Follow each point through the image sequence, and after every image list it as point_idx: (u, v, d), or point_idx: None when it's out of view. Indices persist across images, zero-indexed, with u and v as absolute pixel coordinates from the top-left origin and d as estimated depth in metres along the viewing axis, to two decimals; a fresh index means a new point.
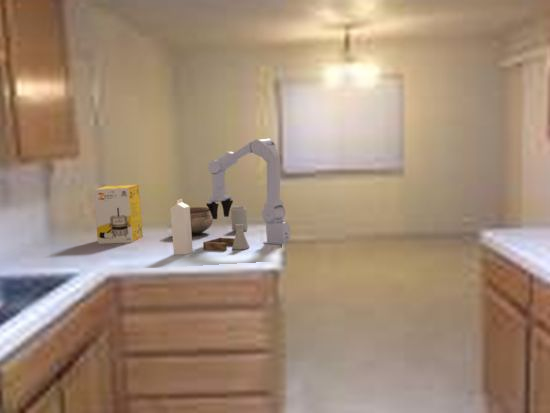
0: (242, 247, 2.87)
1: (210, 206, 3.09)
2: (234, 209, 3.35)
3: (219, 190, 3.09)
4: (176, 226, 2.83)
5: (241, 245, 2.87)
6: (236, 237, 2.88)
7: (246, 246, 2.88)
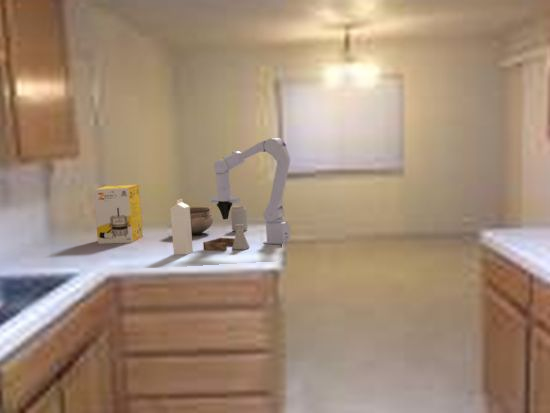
0: (242, 247, 2.87)
1: None
2: (234, 209, 3.35)
3: (217, 191, 3.03)
4: (176, 226, 2.83)
5: (241, 245, 2.87)
6: (236, 237, 2.88)
7: (246, 246, 2.88)
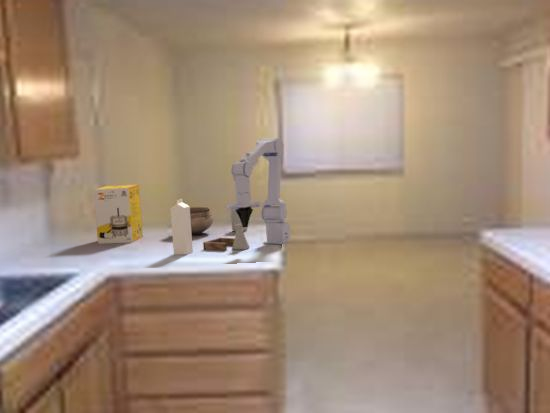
0: (242, 247, 2.87)
1: (239, 212, 2.77)
2: None
3: (241, 196, 2.74)
4: (176, 226, 2.83)
5: (241, 245, 2.87)
6: (236, 237, 2.88)
7: (246, 246, 2.88)
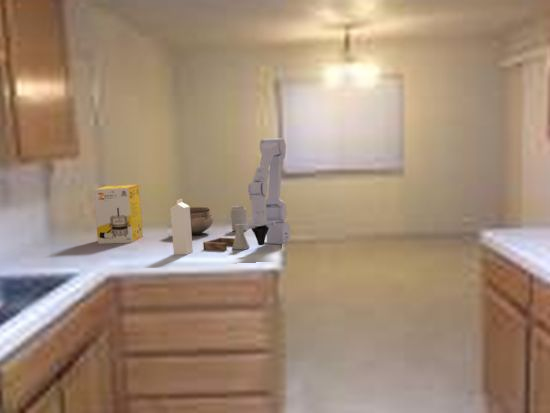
0: (242, 247, 2.87)
1: (255, 231, 2.84)
2: (234, 209, 3.35)
3: (258, 215, 2.81)
4: (176, 226, 2.83)
5: (241, 245, 2.87)
6: (236, 237, 2.88)
7: (246, 246, 2.88)
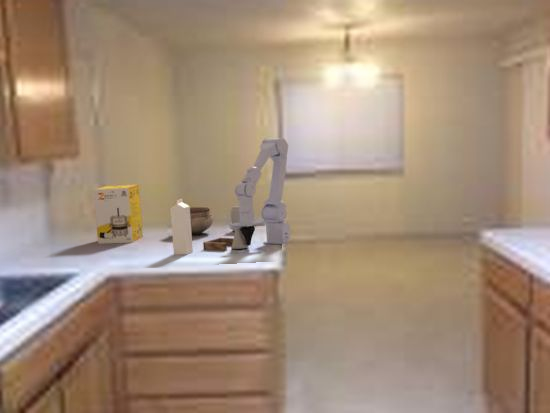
0: (241, 246, 2.87)
1: None
2: (234, 209, 3.35)
3: (243, 215, 2.84)
4: (176, 226, 2.83)
5: (240, 244, 2.87)
6: (235, 236, 2.89)
7: (245, 245, 2.88)
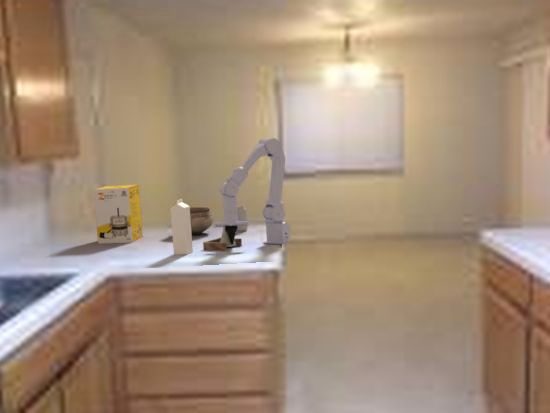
0: None
1: None
2: None
3: (225, 215, 2.89)
4: (176, 226, 2.83)
5: None
6: (222, 235, 2.94)
7: (230, 244, 2.92)
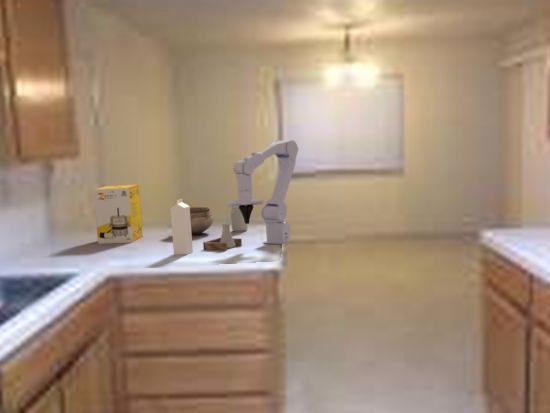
0: None
1: (242, 209, 2.88)
2: (234, 209, 3.35)
3: (241, 193, 2.84)
4: (176, 226, 2.83)
5: None
6: (222, 236, 2.94)
7: (229, 245, 2.92)
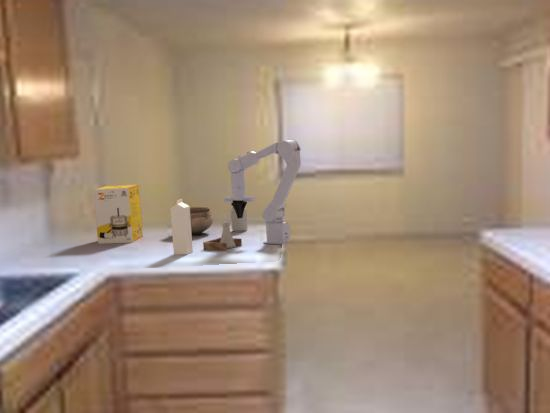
0: None
1: None
2: None
3: (232, 190, 3.03)
4: (176, 226, 2.83)
5: None
6: (222, 236, 2.94)
7: (229, 245, 2.92)
